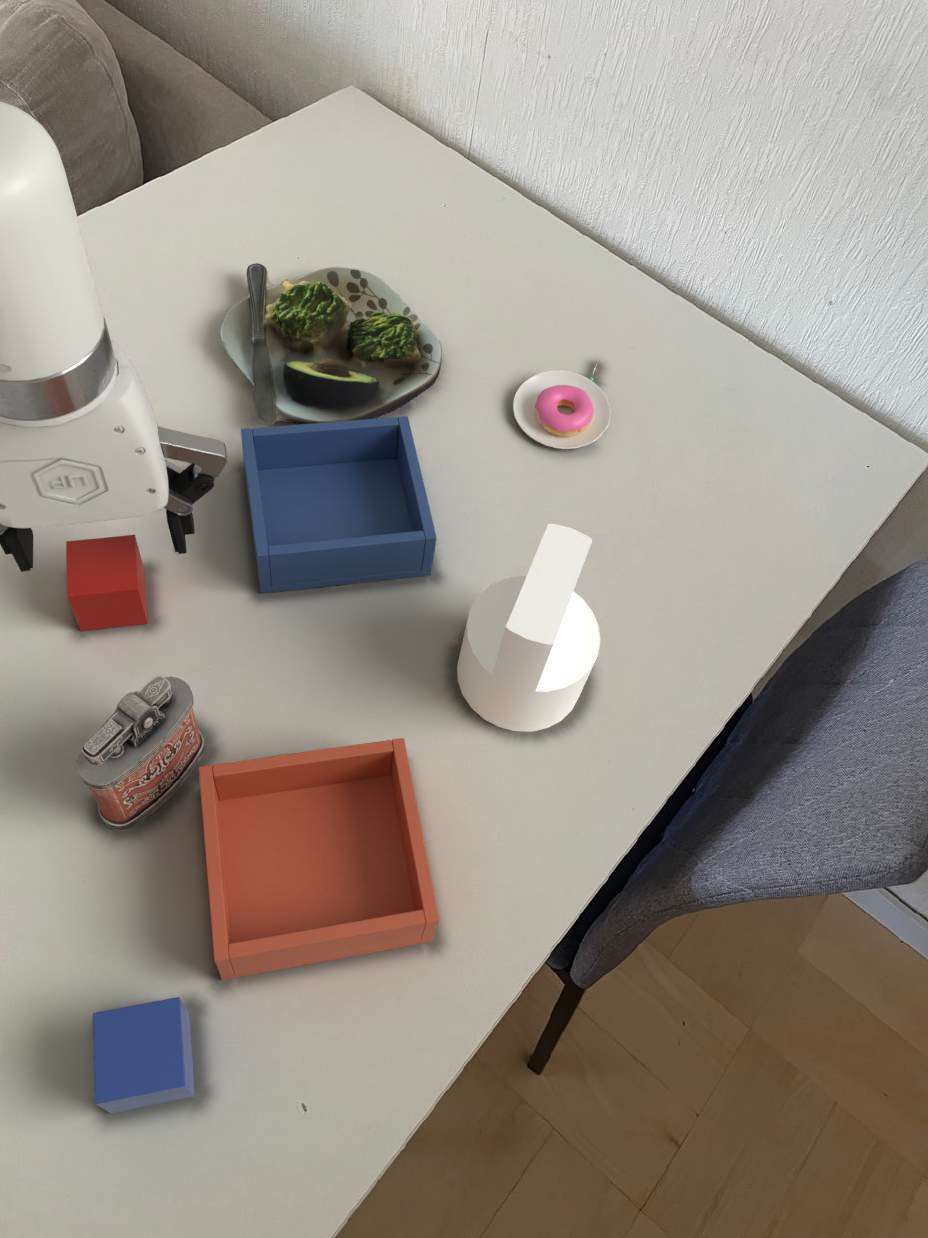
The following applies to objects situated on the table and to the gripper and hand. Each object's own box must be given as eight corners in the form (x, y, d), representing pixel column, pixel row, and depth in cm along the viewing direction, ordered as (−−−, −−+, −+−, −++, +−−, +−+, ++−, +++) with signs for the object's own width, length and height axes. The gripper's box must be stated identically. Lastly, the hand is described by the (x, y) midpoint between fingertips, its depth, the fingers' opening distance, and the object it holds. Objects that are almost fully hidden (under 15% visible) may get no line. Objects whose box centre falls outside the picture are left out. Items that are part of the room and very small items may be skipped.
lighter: (178, 719, 68) (157, 644, 60) (217, 748, 67) (201, 676, 59) (87, 810, 64) (51, 743, 56) (127, 842, 63) (96, 779, 55)
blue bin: (260, 594, 74) (256, 556, 70) (244, 470, 80) (240, 428, 76) (430, 575, 76) (436, 537, 72) (403, 456, 82) (407, 415, 78)
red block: (80, 631, 71) (66, 596, 67) (79, 577, 73) (66, 540, 69) (147, 623, 72) (138, 589, 68) (144, 571, 74) (134, 534, 70)
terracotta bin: (221, 980, 60) (214, 961, 56) (206, 796, 66) (198, 766, 61) (432, 942, 62) (439, 920, 58) (399, 767, 68) (404, 737, 64)
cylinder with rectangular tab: (560, 750, 70) (599, 666, 60) (438, 703, 71) (457, 612, 61) (596, 646, 75) (638, 552, 65) (481, 604, 76) (505, 504, 65)
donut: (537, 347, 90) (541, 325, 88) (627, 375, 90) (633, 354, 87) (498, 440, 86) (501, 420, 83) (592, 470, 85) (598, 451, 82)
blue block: (110, 1114, 56) (94, 1104, 52) (107, 1028, 58) (92, 1012, 54) (195, 1097, 56) (185, 1086, 53) (189, 1012, 59) (179, 996, 55)
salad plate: (169, 310, 88) (161, 266, 84) (347, 247, 94) (348, 204, 90) (282, 462, 80) (279, 422, 76) (466, 382, 87) (473, 342, 83)
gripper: (-154, 424, 49) (-38, 609, 64) (214, 393, 52) (244, 576, 67) (-140, 314, 53) (-34, 513, 67) (202, 291, 56) (233, 486, 70)
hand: (104, 544), depth 67 cm, fingers open, 9 cm apart
